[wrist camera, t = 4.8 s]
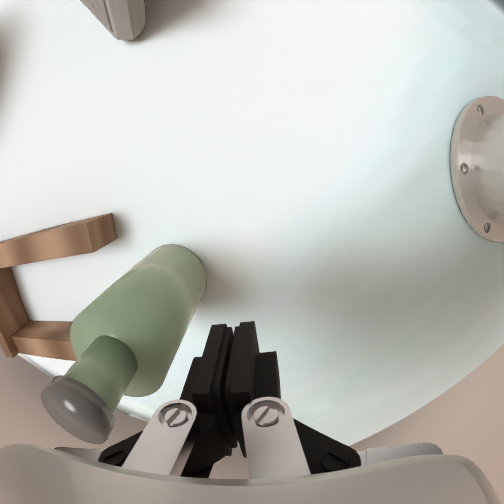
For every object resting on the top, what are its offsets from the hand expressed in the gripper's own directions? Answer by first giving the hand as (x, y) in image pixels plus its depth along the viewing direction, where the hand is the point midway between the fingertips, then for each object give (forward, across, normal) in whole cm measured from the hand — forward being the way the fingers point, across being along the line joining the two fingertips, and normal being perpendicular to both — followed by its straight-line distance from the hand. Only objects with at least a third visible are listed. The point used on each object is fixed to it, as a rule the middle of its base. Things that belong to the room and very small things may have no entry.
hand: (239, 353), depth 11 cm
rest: (+10, +17, 0) cm, 20 cm away
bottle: (+10, +6, 0) cm, 11 cm away
